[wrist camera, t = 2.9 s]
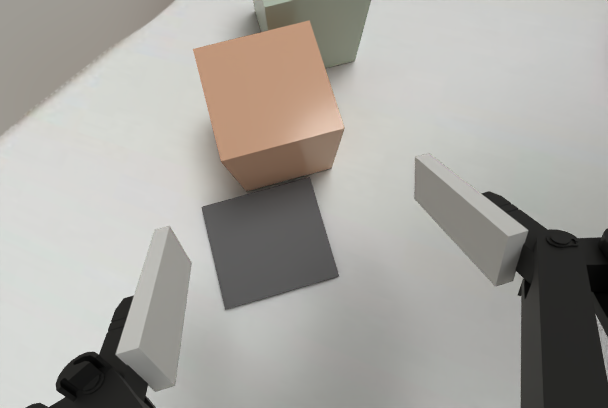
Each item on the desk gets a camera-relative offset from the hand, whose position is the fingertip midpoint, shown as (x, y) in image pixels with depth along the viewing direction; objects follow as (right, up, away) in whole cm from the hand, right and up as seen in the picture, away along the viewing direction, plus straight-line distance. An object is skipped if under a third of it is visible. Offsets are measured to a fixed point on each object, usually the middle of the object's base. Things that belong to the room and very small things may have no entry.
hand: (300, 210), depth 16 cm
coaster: (-3, -3, +14) cm, 15 cm away
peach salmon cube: (-3, +7, +16) cm, 18 cm away
